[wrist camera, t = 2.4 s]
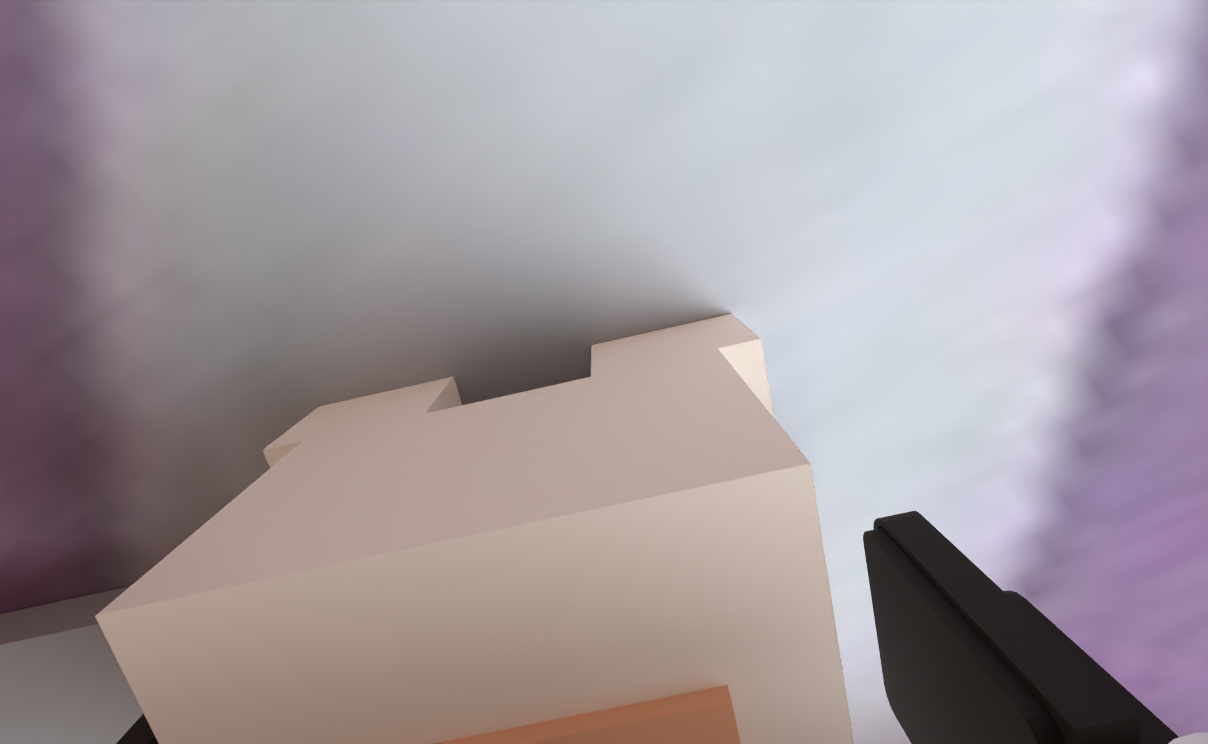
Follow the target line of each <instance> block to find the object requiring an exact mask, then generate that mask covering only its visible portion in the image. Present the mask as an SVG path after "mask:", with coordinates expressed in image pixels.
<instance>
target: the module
mask: <svg viewBox="0 0 1208 744" xmlns="http://www.w3.org/2000/svg"><path fill="white" fill-rule="evenodd" d="M263 453H264V455H265V458H266V460H267V463H268V465H269V468H270V469H269V470H268V471H266V472H265V473H264V474H263V475H262V476H260V477H259V478H258V479H257V480H256V481H255V482H253V483H252V484H251V485H250V486H249V487H247V488H246V489H245V490H244V491H243V492H241V493H240V494H239V495H238V496H237V497H236V498H234V499H233V500H232V501H231V502H230V503H228V504H227V505H226V506H225V507H224V508H223V509H221V510H220V511H219V512H218V513H217V514H215V515H214V516H213V517H212V518H211V519H209V520H208V521H207V522H206V523H205V524H204V525H202V526H201V527H200V528H199V529H198V530H196V531H195V532H194V533H193V534H192V535H191V536H189V537H188V538H187V539H186V540H185V541H183V542H182V543H181V544H180V545H179V546H177V547H176V548H175V549H174V550H173V551H172V552H170V553H169V554H168V555H167V556H166V557H164V558H163V559H162V560H161V561H160V562H159V563H157V564H156V565H155V566H154V567H153V568H151V569H150V570H149V571H148V572H147V573H145V574H144V575H143V576H142V577H141V578H140V579H138V580H137V581H136V582H135V583H134V584H132V585H131V586H130V587H129V588H128V589H127V590H125V591H124V592H123V593H122V594H121V595H119V596H118V597H117V598H116V599H115V600H113V601H112V602H111V603H110V604H109V605H108V606H106V607H105V608H104V609H103V610H102V611H100V612H99V613H98V614H97V615H96V616H95V617H96V619H97V621H98V623H99V625H100V627H101V629H102V631H103V633H104V635H105V637H106V639H107V641H108V643H109V645H110V647H111V649H112V651H113V653H114V655H115V657H116V659H117V661H118V663H119V665H120V667H121V669H122V671H123V673H124V675H125V677H126V679H127V681H128V683H129V685H130V687H131V689H132V691H133V693H134V695H135V697H136V699H137V701H138V703H139V705H140V707H141V709H142V711H143V713H144V715H145V717H146V719H147V721H148V723H149V725H150V727H151V729H152V731H153V733H154V735H155V737H156V739H157V741H158V743H159V744H854V742H853V735H852V729H851V722H850V716H849V710H848V703H847V697H846V690H845V684H844V677H843V671H842V664H841V658H840V651H839V645H838V639H837V632H836V626H835V619H834V613H833V606H832V600H831V593H830V587H829V580H828V574H827V568H826V561H825V555H824V548H823V542H822V535H821V529H820V522H819V516H818V510H817V503H816V497H815V490H814V484H813V477H812V471H811V464H810V462H809V461H808V460H807V459H806V457H805V456H804V455H803V454H802V452H801V451H800V450H799V449H798V447H797V446H796V445H795V444H794V442H793V441H792V440H791V439H790V437H789V436H788V435H787V434H786V432H785V431H784V430H783V429H782V427H781V426H780V425H779V424H778V422H777V421H776V420H775V419H774V414H773V408H772V402H771V396H770V390H769V384H768V379H767V373H766V367H765V361H764V355H763V349H762V343H761V338H759V337H758V336H757V335H756V334H755V333H754V332H752V331H751V330H750V329H749V328H748V327H747V326H746V325H744V324H743V323H742V322H741V321H740V320H739V319H737V318H736V317H735V316H734V315H733V314H728V315H723V316H719V317H715V318H710V319H706V320H701V321H697V322H692V323H688V324H683V325H679V326H675V327H670V328H666V329H661V330H657V331H652V332H648V333H643V334H639V335H635V336H630V337H626V338H621V339H617V340H612V341H608V342H603V343H599V344H595V345H591V377H587V378H583V379H578V380H574V381H569V382H565V383H560V384H556V385H551V386H547V387H542V388H538V389H533V390H529V391H524V392H520V393H515V394H511V395H506V396H502V397H497V398H493V399H488V400H484V401H479V402H475V403H470V404H466V405H462V402H461V399H460V395H459V392H458V389H457V385H456V382H455V379H454V376H452V377H448V378H444V379H439V380H435V381H430V382H426V383H421V384H417V385H412V386H408V387H404V388H399V389H395V390H390V391H386V392H381V393H377V394H373V395H368V396H364V397H359V398H355V399H350V400H346V401H341V402H337V403H333V404H328V405H324V406H319V407H318V408H316V409H315V410H314V411H312V412H311V413H310V414H308V415H307V416H306V417H305V418H303V419H302V420H301V421H299V422H298V423H297V424H295V425H294V426H293V427H292V428H290V429H289V430H288V431H286V432H285V433H284V434H282V435H281V436H280V437H279V438H277V439H276V440H275V441H273V442H272V443H271V444H269V445H268V446H267V447H265V448H264V449H263Z"/></svg>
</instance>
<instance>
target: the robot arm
mask: <svg viewBox="0 0 1208 744" xmlns="http://www.w3.org/2000/svg"><path fill="white" fill-rule="evenodd" d="M863 541H864V549H865V555H866V562H867V569H868V576H869V583H870V590H871V596H872V603H873V610H874V617H875V624H876V631H877V638H878V644H879V651H880V658H881V665H882V672H883V679H884V685H885V690H886V694H887V697H888V700H889V703H890V706H891V708H892V710H893V712H894V714H895V716H896V718H897V720H898V721H899V723H900V725H901V726H902V728H903V730H904V731H905V733H906V735H907V736H908V738H909V740H910V742H911V743H912V744H1208V733H1193V734H1190V735H1186V736H1183V737H1178V736H1177V735H1176V734H1175V733H1174V732H1173V731H1172V730H1171V729H1170V728H1168V727H1167V726H1166V725H1165V724H1164V723H1163V722H1162V721H1161V720H1160V719H1158V718H1157V717H1156V716H1155V715H1154V714H1153V713H1152V712H1151V711H1150V710H1148V709H1147V708H1146V707H1145V706H1144V705H1143V704H1142V703H1141V702H1140V701H1138V700H1137V699H1136V698H1135V697H1134V696H1133V695H1132V694H1131V693H1130V692H1128V691H1127V690H1126V689H1125V688H1124V687H1123V686H1122V685H1121V684H1120V683H1118V682H1117V681H1116V680H1115V679H1114V678H1113V677H1112V676H1111V675H1110V674H1108V673H1107V672H1106V671H1105V670H1104V669H1103V668H1102V667H1101V666H1100V665H1098V664H1097V663H1096V662H1095V661H1094V660H1093V659H1092V658H1091V657H1090V656H1088V655H1087V654H1086V653H1085V652H1084V651H1083V650H1082V649H1081V648H1080V647H1078V646H1077V645H1076V644H1075V643H1074V642H1073V641H1072V640H1071V639H1070V638H1068V637H1067V636H1066V635H1065V634H1064V633H1063V632H1062V631H1061V630H1060V629H1059V628H1057V627H1056V626H1055V625H1054V624H1053V623H1052V622H1051V621H1050V620H1049V619H1047V618H1046V617H1045V616H1044V615H1043V614H1042V613H1041V612H1040V611H1039V610H1037V609H1036V608H1035V607H1034V606H1033V605H1032V604H1031V603H1030V602H1029V601H1027V600H1026V599H1025V598H1024V597H1022V596H1021V595H1019V594H1018V593H1017V592H1013V591H1002V590H1001V589H1000V588H999V587H998V586H997V585H996V584H995V583H994V582H993V581H992V580H991V579H989V578H988V577H987V576H986V575H985V574H984V573H983V572H982V571H981V570H980V569H979V568H978V567H977V566H975V565H974V564H973V563H972V562H971V561H970V560H969V559H968V558H967V557H966V556H965V555H964V554H963V553H962V552H960V551H959V550H958V549H957V548H956V547H955V546H954V545H953V544H952V543H951V542H950V541H949V540H948V539H947V538H945V537H944V536H943V535H942V534H941V533H940V532H939V531H938V530H937V529H936V528H935V527H934V526H933V525H932V524H930V523H929V522H928V521H927V520H926V519H925V518H924V517H923V516H922V515H921V514H920V513H918V512H916V511H911V512H906V513H902V514H897V515H892V516H887V517H883V518H878V519H876V520H875V521H874V530H871V531H866V532H864V535H863ZM116 744H159V743H158V741H157V739H156V737H155V735H154V733H153V731H152V729H151V727H150V725H149V723H148V721H147V719H146V717H145V715H144V713H143V714H142V716H141V717H140V718H139V719H138V720H137V721H136V722H135V723H134V724H133V725H132V727H131V728H130V729H129V730H128V731H127V732H126V733H125V734H124V735H123V736H122V738H121V739H120V740H119V741H118V742H117V743H116Z"/></svg>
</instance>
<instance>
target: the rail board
mask: <svg viewBox="0 0 1208 744" xmlns="http://www.w3.org/2000/svg"><path fill="white" fill-rule="evenodd" d="M129 587H130V586H128V587H123V588H119V589H114V590H109V591H105V592H100V593H95V594H91V595H86V596H81V597H77V598H72V599H67V600H63V601H58V602H54V603H49V604H44V605H40V606H35V607H30V608H26V609H21V610H16V611H12V612H7V613H2V614H0V744H116V743H117V742H118V741H119V740H120V739H121V738H122V736H123V735H124V734H125V733H126V732H127V731H128V730H129V729H130V728H131V727H132V725H133V724H134V723H135V722H136V721H137V720H138V719H139V718H140V717H141V716H142V714H143V711H142V709H141V707H140V705H139V703H138V701H137V699H136V697H135V695H134V693H133V691H132V689H131V687H130V685H129V683H128V681H127V679H126V677H125V675H124V673H123V671H122V669H121V667H120V665H119V663H118V661H117V659H116V657H115V655H114V653H113V651H112V649H111V647H110V645H109V643H108V641H107V639H106V637H105V635H104V633H103V631H102V629H101V627H100V625H99V623H98V621H97V619H96V617H95V616H96V615H97V614H98V613H99V612H100V611H102V610H103V609H104V608H105V607H106V606H108V605H109V604H110V603H111V602H112V601H113V600H115V599H116V598H117V597H118V596H119V595H121V594H122V593H123V592H124V591H125V590H127V589H128V588H129Z"/></svg>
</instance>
